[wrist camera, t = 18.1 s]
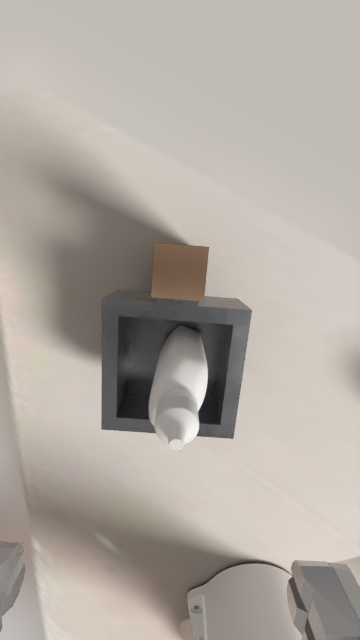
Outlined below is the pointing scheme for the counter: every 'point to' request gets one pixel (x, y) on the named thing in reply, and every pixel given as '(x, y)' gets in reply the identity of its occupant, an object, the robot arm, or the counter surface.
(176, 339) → the eye dropper bottle
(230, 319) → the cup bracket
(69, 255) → the counter surface
